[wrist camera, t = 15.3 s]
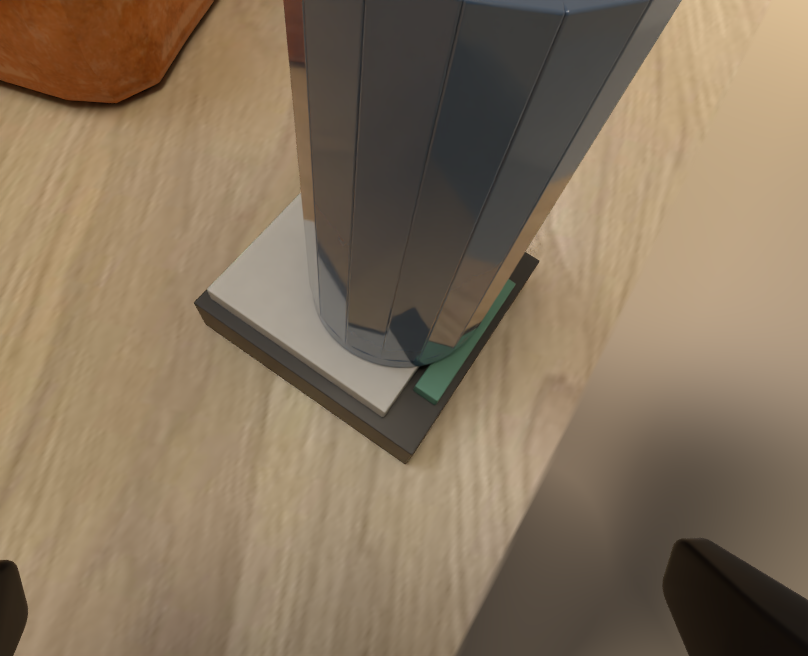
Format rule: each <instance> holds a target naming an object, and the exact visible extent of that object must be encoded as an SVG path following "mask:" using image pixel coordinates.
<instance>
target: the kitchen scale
mask: <svg viewBox="0 0 808 656" xmlns="http://www.w3.org/2000/svg"><path fill="white" fill-rule="evenodd" d="M538 263H539V260H537V259H536V258H534V257H533V256H531V255H529V254H528V253H526V252H525V253H524V254H523V256H522V258H521V259H520V261H519V262H518V264H517V266H516V267H515V269H514V271H513V272H512V274H511V275H510V277H509V279H508V280H507V282H506V283H505V285H504V287H503V288H502V290H501V291H500V293H499V295H498V296H497V298H496V299H495V301H494V303H493V304H492V306H491V307H490V309H489V311H488V312H487V314H486V316H485V317H484V319H483V320H482V322H481V324H480V325H479V326H478V328H477V329H476V330H475V331H474V332H473V333H472V335H471V336H470V337H469V339H468V340H467V341H466V342H465V343H464V344H463V345H462V346H461V347H460V348H458V349H457V350H456V351H455V352H453V353H452V354H450V355H448V356H447V357H445V358H443V359H441V360H438V361H436V362H434V363H430V364H427V365H423V366H417V367H409V368H397V367H389V366H383V365H379V364H375V363H372V362H369V361H367V360H364V359H362V358H360V357H358V356H356V355H354V354H352V353H351V352H349V351H348V350H346V349H345V348H344V347H342V346H341V345H340V344H339V343H338V342H337V341H336V340H335V339H333V337H332V336H331V335H330V334H329V333H328V331H327V330H326V329H325V327H324V326H323V324H322V322H321V321H320V319H319V317H318V314H317V312H316V310H315V306H314V303H313V299H312V291H311V289H310V286H309V276H308V265H307V254H306V243H305V232H304V221H303V210H302V199H301V193H300V194H299V195H298V196H297V197H296V198H295V199H294V200H293V201H292V202H291V203H290V204H289V205H288V206H287V207H286V208H285V209H284V210H283V211H282V212H281V213H280V214H279V215H278V216H277V218H276V219H275V220H274V221H273V222H272V223H271V224H270V225H269V226H268V227H267V228H266V229H265V230H264V231H263V232H262V233H261V234H260V235H259V236H258V237H257V238H256V239H255V240H254V241H253V242H252V243H251V244H250V245H249V246H248V247H247V248H246V249H245V250H244V251H243V252H242V254H241V255H240V256H239V257H238V258H237V259H236V260H235V261H234V262H233V263H232V264H231V265H230V266H229V267H228V268H227V269H226V270H225V271H224V272H223V273H222V274H221V275H220V276H219V277H218V278H217V279H216V280H215V281H214V282H213V283H212V284H211V285H210V286H209V287H208V289H207V290H206V291H205V292H204V293H203V294H202V295H201V296H200V297H199V298H198V299H197V300H196V301H195V302H194V304H195V306H196V308H197V309H198V311H199V313H200V315H201V317H202V318H203V320H204V322H205V324H206V325H208V326H209V327H211V328H212V329H214V330H215V331H216V332H218V333H219V334H221V335H222V336H224V337H225V338H226V339H228V340H229V341H231V342H232V343H234V344H235V345H236V346H238V347H239V348H241V349H242V350H243V351H245V352H246V353H248V354H249V355H251V356H252V357H253V358H255V359H256V360H258V361H259V362H261V363H262V364H263V365H265V366H266V367H268V368H269V369H271V370H272V371H273V372H275V373H276V374H278V375H279V376H280V377H282V378H283V379H285V380H286V381H288V382H289V383H290V384H292V385H293V386H295V387H296V388H298V389H299V390H300V391H302V392H303V393H305V394H306V395H308V396H309V397H310V398H312V399H313V400H315V401H316V402H318V403H319V404H320V405H322V406H323V407H325V408H326V409H327V410H329V411H330V412H332V413H333V414H335V415H336V416H337V417H339V418H340V419H342V420H343V421H345V422H346V423H347V424H349V425H350V426H352V427H353V428H355V429H356V430H357V431H359V432H360V433H362V434H363V435H364V436H366V437H367V438H369V439H370V440H372V441H373V442H374V443H376V444H377V445H379V446H380V447H382V448H383V449H384V450H386V451H387V452H389V453H390V454H392V455H393V456H394V457H396V458H397V459H399V460H400V461H402V462H403V463H404V464H406V463H407V462H408V460H409V459H410V458H411V456H412V455H413V454H414V452H415V451H416V449H417V448H418V446H419V444H420V443H421V441H422V440H423V438H424V437H425V435H426V434H427V432H428V431H429V429H430V428H431V426H432V425H433V423H434V422H435V420H436V419H437V417H438V416H439V414H440V412H441V411H442V409H443V408H444V406H445V405H446V403H447V402H448V400H449V399H450V397H451V396H452V394H453V393H454V391H455V390H456V388H457V387H458V385H459V383H460V382H461V380H462V379H463V377H464V376H465V374H466V373H467V371H468V370H469V368H470V367H471V365H472V364H473V362H474V361H475V359H476V358H477V356H478V354H479V353H480V351H481V350H482V348H483V347H484V345H485V344H486V342H487V341H488V339H489V338H490V336H491V335H492V333H493V332H494V330H495V329H496V327H497V326H498V324H499V322H500V321H501V319H502V318H503V316H504V315H505V313H506V312H507V310H508V309H509V307H510V306H511V304H512V303H513V301H514V300H515V298H516V297H517V295H518V293H519V292H520V290H521V289H522V287H523V286H524V284H525V283H526V281H527V280H528V278H529V277H530V275H531V274H532V272H533V271H534V269H535V268H536V266H537V264H538Z"/></svg>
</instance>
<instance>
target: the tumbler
mask: <svg viewBox="0 0 808 656" xmlns="http://www.w3.org/2000/svg"><path fill="white" fill-rule="evenodd" d="M283 1H284V12H285V23H286V34H287V45H288V56H289V67H290V78H291V89H292V100H293V111H294V122H295V133H296V144H297V155H298V166H299V177H300V188H301V199H302V210H303V221H304V232H305V243H306V254H307V265H308V276H309V286H310V289H311V291H312V299H313V303H314V306H315V310H316V312H317V314H318V317H319V319H320V321H321V322H322V324H323V326H324V327H325V329H326V330H327V331H328V333H329V334H330V335H331V336H332V337H333V339H335V340H336V341H337V342H338V343H339V344H340V345H341V346H342V347H344V348H345V349H346V350H348V351H349V352H351V353H352V354H354V355H356V356H358V357H360V358H362V359H364V360H367V361H369V362H372V363H375V364H379V365H383V366H389V367H397V368H409V367H417V366H423V365H427V364H430V363H434V362H436V361H438V360H441V359H443V358H445V357H447V356H448V355H450V354H452V353H453V352H455V351H456V350H457V349H458V348H460V347H461V346H462V345H463V344H464V343H465V342H466V341H467V340H468V339H469V337H470V336H471V335H472V333H473V332H474V331H475V330H476V329H477V328H478V326H479V325H480V324H481V322H482V320H483V319H484V317H485V316H486V314H487V312H488V311H489V309H490V307H491V306H492V304H493V303H494V301H495V299H496V298H497V296H498V295H499V293H500V291H501V290H502V288H503V287H504V285H505V283H506V282H507V280H508V279H509V277H510V275H511V274H512V272H513V271H514V269H515V267H516V266H517V264H518V262H519V261H520V259H521V258H522V256H523V254H524V253H525V251H526V250H527V248H528V246H529V245H530V243H531V242H532V240H533V238H534V237H535V235H536V234H537V232H538V230H539V229H540V227H541V226H542V224H543V222H544V221H545V219H546V217H547V216H548V214H549V213H550V211H551V209H552V208H553V206H554V205H555V203H556V201H557V200H558V198H559V197H560V195H561V193H562V192H563V190H564V189H565V187H566V185H567V184H568V182H569V181H570V179H571V177H572V176H573V174H574V173H575V171H576V169H577V168H578V166H579V164H580V163H581V161H582V160H583V158H584V156H585V155H586V153H587V152H588V150H589V148H590V147H591V145H592V144H593V142H594V140H595V139H596V137H597V136H598V134H599V132H600V131H601V129H602V128H603V126H604V124H605V123H606V121H607V119H608V118H609V116H610V115H611V113H612V111H613V110H614V108H615V107H616V105H617V103H618V102H619V100H620V99H621V97H622V95H623V94H624V92H625V91H626V89H627V87H628V86H629V84H630V83H631V81H632V79H633V78H634V76H635V74H636V73H637V71H638V70H639V68H640V66H641V65H642V63H643V62H644V60H645V58H646V57H647V55H648V54H649V52H650V50H651V49H652V47H653V46H654V44H655V42H656V41H657V39H658V38H659V36H660V34H661V33H662V31H663V29H664V28H665V26H666V25H667V23H668V21H669V20H670V18H671V17H672V15H673V13H674V12H675V10H676V9H677V7H678V5H679V4H680V2H681V1H682V0H283Z"/></svg>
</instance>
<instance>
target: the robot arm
mask: <svg viewBox="0 0 808 656" xmlns="http://www.w3.org/2000/svg"><path fill="white" fill-rule="evenodd" d="M662 587H663V593H664V597H665V600H666V602H667V605H668V607H669V609H670V612H671V614H672V617H673V619H674V621H675V624H676V626H677V628H678V631H679V633H680V636H681V638H682V640H683V643H684V645H685V647H686V650H687V652H688V654H689V656H808V600H807V599H806V598H804V597H802V596H801V595H799V594H797V593H796V592H794V591H792V590H791V589H789V588H787V587H786V586H784V585H783V584H781V583H779V582H777V581H776V580H774V579H773V578H771V577H769V576H768V575H766V574H764V573H763V572H761V571H759V570H758V569H756V568H755V567H753V566H751V565H749V564H748V563H746V562H745V561H743V560H741V559H740V558H738V557H736V556H735V555H733V554H731V553H730V552H728V551H726V550H725V549H723V548H722V547H720V546H718V545H717V544H715V543H713V542H712V541H709V540H708V539H704V538H687V539H686V538H683V539H679V540H677V541H676V543H674V545H673V548H672V551H671V555H670V558H669V561H668V564H667V567H666V571H665V574H664V577H663V585H662ZM27 616H28V606H27V601H26V598H25V594H24V590H23V586H22V582H21V578H20V575H19V571H18V568H17V565H16V564H15V563H14V562H13V561H9V560H0V656H13V655H14V653H15V650H16V648H17V645H18V643H19V641H20V638H21V636H22V633H23V631H24V628H25V625H26V622H27Z"/></svg>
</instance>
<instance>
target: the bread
mask: <svg viewBox="0 0 808 656" xmlns="http://www.w3.org/2000/svg"><path fill="white" fill-rule="evenodd" d="M213 1H214V0H0V80H1V81H5V82H8V83H12V84H15V85H18V86H22V87H25V88H29V89H32V90H35V91H39V92H42V93H46V94H49V95H52V96H56V97H59V98H62V99H66V100H75V101H91V102H106V103H118V102H120V101H122V100H124V99H126V98H128V97H130V96H132V95H135V94H137V93H139V92H141V91H143V90H145V89H147V88H149V87H151V86H154V85H156V84H158V83H159V82H160V81H161V79H162V78H163V76H164V74H165V73H166V71H167V70H168V68H169V67H170V65H171V63H172V62H173V60H174V59H175V57H176V56H177V54H178V52H179V51H180V49H181V48H182V46H183V45H184V43H185V41H186V40H187V38H188V37H189V35H190V34H191V33H192V31H193V30H194V28H195V27H196V25H197V24H198V23H199V21H200V20H201V18H202V17H203V16H204V14H205V13H206V11H207V10H208V8H209V7H210V6H211V4H212V3H213Z"/></svg>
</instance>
